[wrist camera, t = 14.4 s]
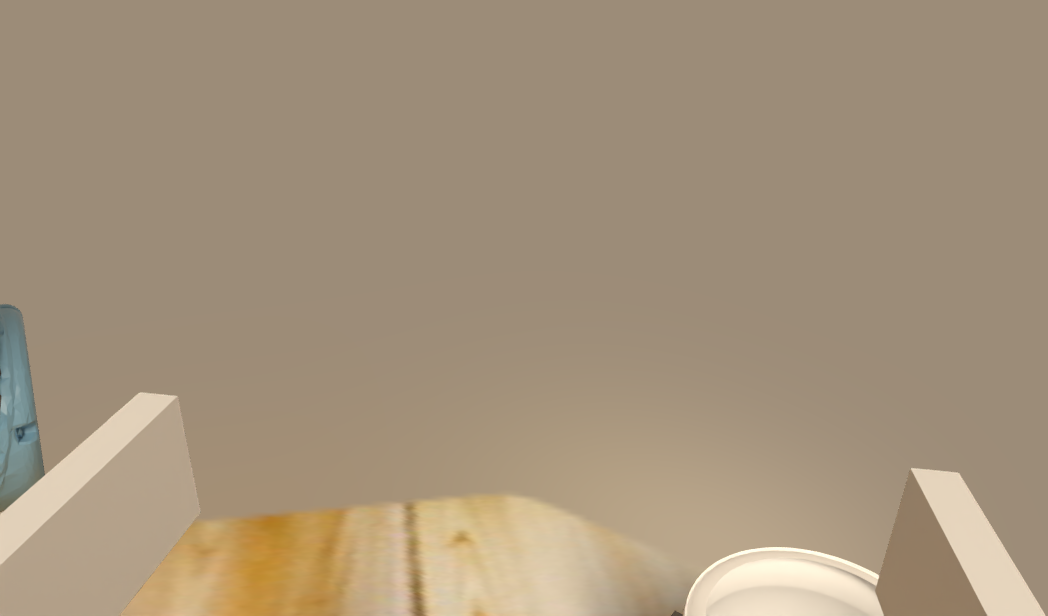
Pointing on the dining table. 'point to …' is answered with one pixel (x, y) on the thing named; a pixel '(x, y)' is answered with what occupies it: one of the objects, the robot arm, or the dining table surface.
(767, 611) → the jar
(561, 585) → the dining table surface
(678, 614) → the tray
